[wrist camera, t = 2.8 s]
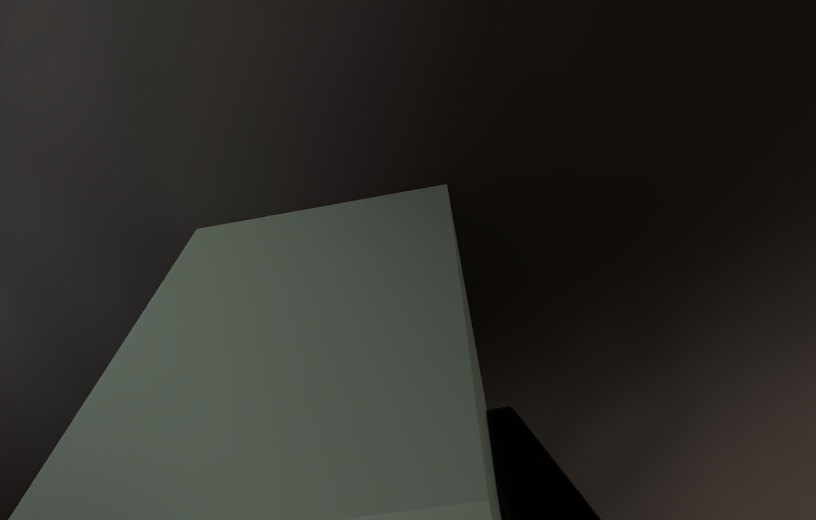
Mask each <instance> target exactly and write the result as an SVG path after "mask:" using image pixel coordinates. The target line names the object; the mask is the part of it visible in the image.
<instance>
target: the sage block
mask: <svg viewBox="0 0 816 520" xmlns="http://www.w3.org/2000/svg"><path fill="white" fill-rule="evenodd" d="M486 410H487V408H486V402H485V396H484V391H483V385H482V379H481V374H480V368H479V362H478V357H477V351H476V346H475V340H474V334H473V329H472V323H471V317H470V312H469V306H468V301H467V295H466V289H465V284H464V278H463V272H462V267H461V261H460V255H459V250H458V244H457V239H456V233H455V227H454V222H453V216H452V210H451V205H450V199H449V193H448V188H447V184H444V185H439V186H433V187H428V188H422V189H417V190H411V191H405V192H400V193H394V194H389V195H383V196H378V197H372V198H366V199H361V200H355V201H350V202H344V203H339V204H333V205H327V206H322V207H316V208H311V209H305V210H300V211H294V212H288V213H283V214H277V215H272V216H266V217H261V218H255V219H250V220H244V221H238V222H233V223H227V224H222V225H216V226H211V227H205V228H199V229H196V231H195V233H194V234H193V236H192V237H191V239H190V240H189V242H188V243H187V245H186V246H185V248H184V249H183V251H182V253H181V254H180V256H179V257H178V259H177V260H176V262H175V263H174V265H173V266H172V268H171V270H170V271H169V273H168V274H167V276H166V277H165V279H164V280H163V282H162V283H161V285H160V286H159V288H158V290H157V291H156V293H155V294H154V296H153V297H152V299H151V300H150V302H149V303H148V305H147V307H146V308H145V310H144V311H143V313H142V314H141V316H140V317H139V319H138V320H137V322H136V323H135V325H134V327H133V328H132V330H131V331H130V333H129V334H128V336H127V337H126V339H125V340H124V342H123V344H122V345H121V347H120V348H119V350H118V351H117V353H116V354H115V356H114V357H113V359H112V360H111V362H110V364H109V365H108V367H107V368H106V370H105V371H104V373H103V374H102V376H101V377H100V379H99V381H98V382H97V384H96V385H95V387H94V388H93V390H92V391H91V393H90V394H89V396H88V397H87V399H86V401H85V402H84V404H83V405H82V407H81V408H80V410H79V411H78V413H77V414H76V416H75V418H74V419H73V421H72V422H71V424H70V425H69V427H68V428H67V430H66V431H65V433H64V435H63V436H62V438H61V439H60V441H59V442H58V444H57V445H56V447H55V448H54V450H53V451H52V453H51V455H50V456H49V458H48V459H47V461H46V462H45V464H44V465H43V467H42V468H41V470H40V472H39V473H38V475H37V476H36V478H35V479H34V481H33V482H32V484H31V485H30V487H29V488H28V490H27V492H26V493H25V495H24V496H23V498H22V499H21V501H20V502H19V504H18V505H17V507H16V509H15V510H14V512H13V513H12V515H11V516H10V518H9V519H8V520H502V516H501V511H500V505H499V500H498V494H497V488H496V481H495V474H494V467H493V460H492V453H491V446H490V439H489V432H488V425H487V418H486Z"/></svg>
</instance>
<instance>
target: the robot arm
mask: <svg viewBox="0 0 816 520" xmlns="http://www.w3.org/2000/svg"><path fill="white" fill-rule="evenodd" d="M486 418H487V425H488V432H489V439H490V446H491V453H492V460H493V467H494V474H495V481H496V488H497V494H498V500H499V505H500V511H501V516H502V520H601V519H600V518H599V516H598V515H597V514H596V513H595V511H594V510H593V509H592V508H591V506H590V505H589V504H588V503H587V501H586V500H585V499H584V497H583V496H582V495H581V494H580V492H579V491H578V490H577V489H576V487H575V486H574V485H573V483H572V482H571V481H570V480H569V478H568V477H567V476H566V475H565V473H564V472H563V471H562V470H561V468H560V467H559V466H558V464H557V463H556V462H555V461H554V459H553V458H552V457H551V456H550V454H549V453H548V452H547V451H546V449H545V448H544V447H543V445H542V444H541V443H540V442H539V440H538V439H537V438H536V437H535V435H534V434H533V433H532V431H531V430H530V429H529V428H528V426H527V425H526V424H525V423H524V421H523V420H522V419H521V418H520V416H519V415H518V414H517V412H516V411H515V410H514V409H513V408H511V407H502V408H495V409H488V410H486Z"/></svg>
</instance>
